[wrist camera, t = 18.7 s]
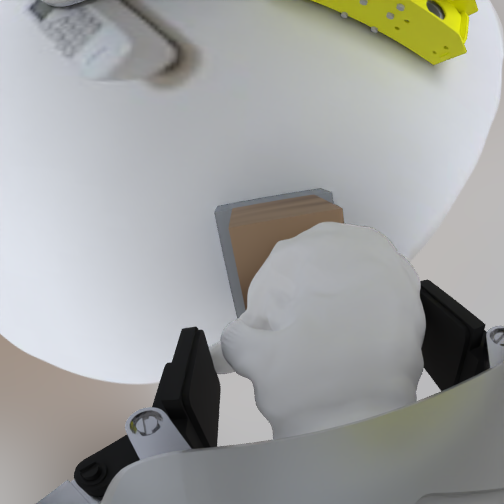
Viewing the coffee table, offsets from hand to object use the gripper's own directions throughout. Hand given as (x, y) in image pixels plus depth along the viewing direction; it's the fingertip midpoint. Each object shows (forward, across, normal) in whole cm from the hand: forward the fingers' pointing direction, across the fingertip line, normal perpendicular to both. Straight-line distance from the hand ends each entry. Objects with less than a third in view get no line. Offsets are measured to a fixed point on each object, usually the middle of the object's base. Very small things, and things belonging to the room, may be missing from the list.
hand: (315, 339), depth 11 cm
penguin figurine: (+4, 0, 0) cm, 4 cm away
